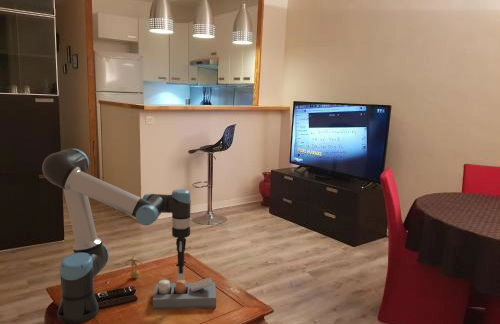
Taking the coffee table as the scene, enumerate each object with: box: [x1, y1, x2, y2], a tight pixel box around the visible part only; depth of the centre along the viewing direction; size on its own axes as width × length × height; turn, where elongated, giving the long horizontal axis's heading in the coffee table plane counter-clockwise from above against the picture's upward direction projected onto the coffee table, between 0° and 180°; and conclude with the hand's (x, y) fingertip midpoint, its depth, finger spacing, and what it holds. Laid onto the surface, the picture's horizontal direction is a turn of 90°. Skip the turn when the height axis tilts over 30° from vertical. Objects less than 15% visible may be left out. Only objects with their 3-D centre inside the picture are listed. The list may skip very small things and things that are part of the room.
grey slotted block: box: [152, 281, 217, 311], centre depth 172 cm, size 26×14×6 cm, turn 97°
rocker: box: [190, 276, 213, 292], centre depth 172 cm, size 9×6×2 cm, turn 97°
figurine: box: [125, 255, 144, 279], centre depth 188 cm, size 8×6×12 cm
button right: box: [174, 279, 187, 294], centre depth 171 cm, size 5×5×4 cm
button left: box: [158, 279, 171, 295], centre depth 170 cm, size 5×5×4 cm
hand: (180, 279), depth 170 cm, fingers closed
